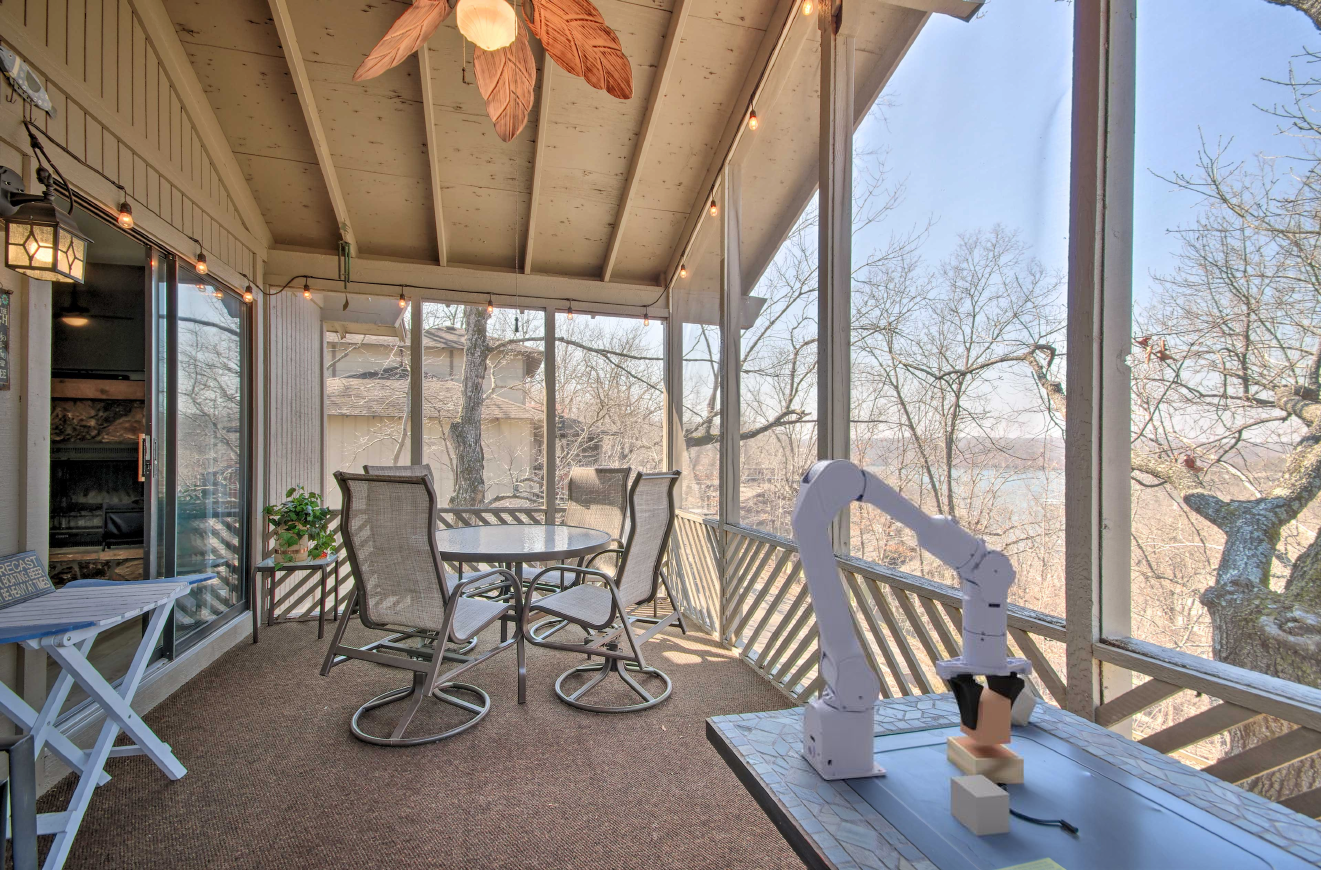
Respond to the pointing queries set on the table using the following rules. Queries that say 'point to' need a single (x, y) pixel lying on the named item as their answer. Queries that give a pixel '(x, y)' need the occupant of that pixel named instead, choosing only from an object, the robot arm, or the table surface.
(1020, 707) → the die
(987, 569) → the robot arm
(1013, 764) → the maple base
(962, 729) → the terracotta block
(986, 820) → the grey block
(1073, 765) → the table surface
